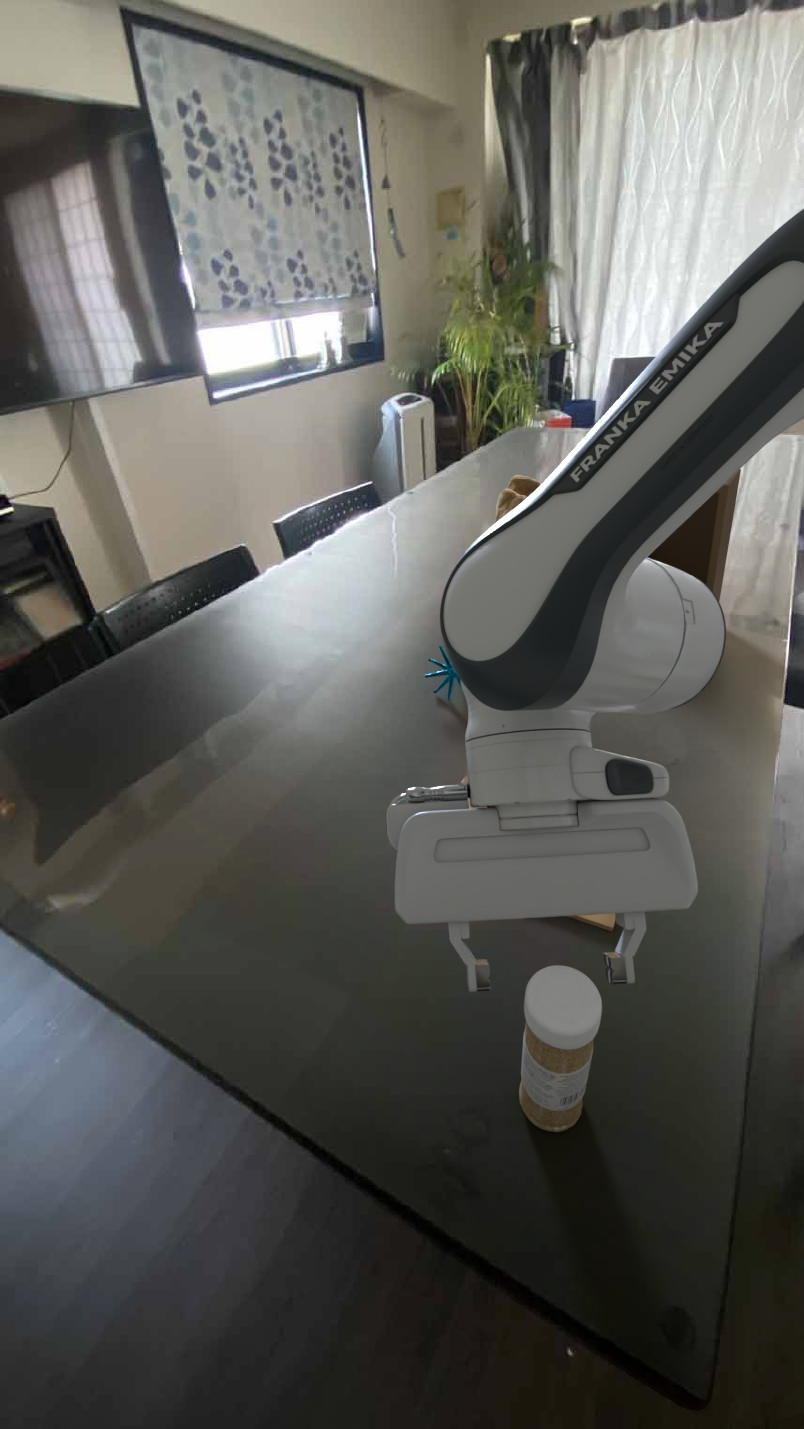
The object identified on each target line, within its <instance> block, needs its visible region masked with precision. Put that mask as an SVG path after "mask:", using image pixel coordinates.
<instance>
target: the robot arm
mask: <svg viewBox="0 0 804 1429" xmlns="http://www.w3.org/2000/svg"><path fill="white" fill-rule="evenodd" d="M802 420H804V208H802V209H801V210H800V211H798V212H797V213H796V214H794V215H793V216H792V217H790V218H789V219H788V220H787V221H786V222H784V223H783V224H782V225H781V226H779V227H778V228H777V229H776V230H775V231H774V232H773V233H771V234H770V236H768V237H767V238H766V239H765V240H764V241H762V243H761V244H760V245H759V246H758V247H757V248H756V249H755V250H754V251H752V252H751V254H749V255H748V256H747V258H745V260H744V261H742V262H741V263H740V264H739V266H738V267H736V269H735V270H734V271H732V273H731V274H730V275H729V276H728V277H727V278H726V279H725V280H724V281H723V282H722V283H721V284H720V285H719V286H718V288H717V289H716V290H715V291H714V292H713V293H712V294H711V295H710V297H708V299H706V301H705V302H704V303H703V304H701V306H700V307H699V308H698V309H697V310H696V311H695V312H694V314H693V315H691V317H689V319H688V321H686V322H685V324H684V325H683V326H682V327H681V328H680V329H679V330H678V331H677V332H676V334H674V336H672V338H671V339H670V340H669V342H668V343H667V344H666V345H665V346H664V347H663V348H662V349H661V350H660V352H659V353H658V354H657V355H656V356H655V357H654V358H653V359H652V361H651V362H649V364H648V365H647V366H646V367H645V368H644V370H643V371H642V372H641V373H640V374H639V375H638V376H637V377H636V378H635V380H634V381H633V382H632V383H631V384H630V385H629V386H628V387H627V389H626V390H625V391H624V392H623V393H622V394H621V395H620V397H619V398H618V399H617V400H616V401H615V402H614V403H613V405H611V407H609V409H608V410H607V411H606V412H605V413H604V414H603V416H602V417H601V418H600V419H599V420H598V421H597V422H596V423H595V424H594V425H593V426H592V428H591V429H590V430H589V431H588V432H587V434H586V435H585V436H584V437H583V438H582V439H581V440H580V441H579V443H577V445H575V447H574V448H573V449H572V450H571V451H570V453H569V454H568V455H567V456H566V457H565V458H564V459H563V460H562V462H561V463H560V464H559V465H558V466H557V467H556V468H555V469H554V470H553V471H552V472H551V473H550V474H549V476H548V477H547V478H546V479H545V480H544V481H543V482H542V483H540V486H539V487H538V488H537V489H536V490H535V491H534V492H533V493H532V494H531V495H530V496H529V497H527V498H526V499H525V500H524V501H523V502H522V503H520V504H519V505H518V506H517V507H515V508H514V509H513V510H511V511H510V512H509V513H508V514H506V515H505V516H504V517H502V518H501V519H500V520H499V521H497V522H496V523H495V524H494V523H493V524H492V525H491V526H489V527H488V529H487V530H485V531H484V532H483V533H482V534H481V535H480V536H478V537H477V539H476V540H474V541H473V542H472V544H470V546H469V547H468V548H467V549H466V550H465V552H463V554H462V556H460V558H459V560H458V561H457V563H456V564H455V566H454V568H453V570H452V571H451V573H450V575H449V577H448V579H447V581H446V584H445V587H444V590H443V593H442V597H441V602H440V609H439V626H440V634H441V638H442V642H443V645H444V651H445V653H446V655H447V657H448V658H449V660H450V662H451V664H452V666H453V668H454V670H455V672H456V673H457V675H458V677H459V678H460V681H461V687H462V689H461V691H462V690H463V691H462V693H463V695H464V698H465V701H466V706H467V713H468V714H467V715H468V717H467V725H466V730H465V735H464V742H465V745H464V746H465V757H466V769H467V773H468V784H461V783H457V784H446V785H438V786H431V787H424V786H413V787H409V788H406V789H405V793H401V794H399V795H397V796H395V797H394V798H393V799H392V800H391V801H390V803H389V804H388V806H387V808H386V812H385V825H386V838H387V842H388V843H389V845H390V846H391V848H392V850H394V851H395V852H396V857H395V858H396V859H395V860H396V861H395V872H394V911H395V913H396V915H397V916H398V917H399V919H400V920H402V922H404V923H405V924H406V925H409V926H410V925H429V924H431V925H432V924H446V923H447V932H448V933H447V934H448V939H449V941H450V943H451V945H452V947H453V948H454V950H455V951H456V952H457V954H458V955H459V957H460V959H461V960H462V962H463V963H464V965H465V967H466V978H467V979H466V980H467V987H468V992H469V993H479V992H491V991H492V982H491V979H490V976H491V970H490V969H491V968H490V963H489V960H488V959H487V958H475V956H474V955H473V953H472V951H471V950H470V948H469V947H468V945H467V943H466V942H465V940H467V939H469V938H470V937H471V935H470V922H482V921H483V922H484V921H501V920H502V921H503V920H519V919H520V920H522V919H538V918H556V917H558V918H559V917H567V916H576V915H594V914H612V913H615V915H616V922H615V924H617V925H618V926H619V927H621V928H623V930H622V933H621V934H620V937H619V939H618V942H617V945H616V947H615V949H614V951H608V952H603V953H602V954H603V962H604V964H605V966H606V967H605V969H604V970H605V972H604V973H605V977H606V980H607V982H608V983H610V984H611V985H633V984H635V983H636V975H635V967H634V966H635V965H634V958H633V957H635V956H636V954H637V952H638V949H639V947H640V945H641V943H642V940H643V938H644V937H645V934H646V932H647V930H648V929H647V920H646V912H647V913H648V912H663V911H665V912H666V911H680V910H681V911H682V910H688V909H689V908H690V907H691V906H692V905H693V903H694V902H695V899H696V898H697V896H698V894H699V882H698V874H697V868H696V863H695V859H694V854H693V850H692V846H691V841H690V838H689V835H688V832H687V827H686V825H685V823H684V820H683V817H682V815H681V814H680V813H679V811H678V810H677V809H676V807H675V806H674V805H673V804H671V803H670V802H668V801H666V800H664V799H660V797H664V796H666V795H667V794H668V792H669V791H670V776H669V775H670V774H669V771H668V770H667V768H666V767H665V766H663V765H661V764H659V763H657V762H652V761H648V760H643V759H640V758H639V759H638V758H636V757H631V756H626V755H622V754H618V753H615V752H610V751H606V750H602V749H598V748H594V747H593V742H592V734H591V725H590V724H591V719H592V718H593V717H594V715H596V714H598V713H601V714H609V713H613V714H614V713H615V714H623V715H624V714H626V715H651V714H657V713H662V712H664V711H668V710H673V709H676V708H679V707H681V706H683V705H686V704H687V703H689V702H691V701H692V700H694V699H696V697H698V696H699V695H700V694H702V692H703V691H704V690H705V689H706V688H707V686H709V684H710V683H711V681H712V680H713V678H714V677H715V675H716V673H717V671H718V670H719V667H720V664H721V662H722V659H723V656H724V653H725V648H726V640H727V626H726V618H725V614H724V610H723V608H722V605H721V602H720V601H718V599H717V597H716V596H715V594H714V593H713V591H712V590H711V589H710V588H709V587H708V586H707V585H706V584H705V583H703V582H702V581H701V580H699V579H697V578H695V577H693V576H691V575H689V574H687V573H685V572H684V571H681V570H679V569H677V568H674V567H672V566H669V565H667V564H664V563H661V562H658V561H656V560H653V559H650V558H647V557H648V556H649V555H650V554H651V553H652V552H653V551H654V550H655V549H656V548H657V547H658V546H659V545H660V544H662V543H663V542H664V541H665V540H666V539H667V538H668V537H669V536H670V535H671V534H672V533H673V532H674V531H675V530H676V529H677V528H678V527H679V526H680V525H682V524H683V523H684V522H685V521H686V520H687V519H688V518H689V517H690V516H691V515H692V514H693V513H694V512H695V511H696V510H697V509H698V508H699V507H700V506H702V505H703V504H704V503H705V502H706V501H707V500H708V499H709V498H710V497H711V496H712V495H713V494H714V493H715V492H716V491H717V490H718V489H719V488H720V487H721V486H723V485H724V484H725V483H726V482H727V481H728V480H729V479H730V478H731V477H732V476H733V475H734V474H735V473H736V472H737V471H738V470H739V469H742V468H743V467H744V466H745V465H746V464H747V463H748V462H749V461H750V460H751V459H753V457H754V456H756V454H757V453H759V452H760V451H761V450H762V449H763V448H764V447H765V446H766V445H768V444H769V443H770V442H771V441H772V440H773V439H775V438H776V437H778V436H779V435H780V434H782V433H784V432H785V431H786V430H788V429H789V428H791V427H792V426H794V425H795V424H797V423H799V422H801V421H802ZM468 797H469V799H470V806H471V807H473V808H471V809H469V800H468ZM404 800H405V802H406V803H400V802H402V801H404ZM483 807H487V808H483ZM557 815H558V816H557ZM504 818H508V819H504Z"/></svg>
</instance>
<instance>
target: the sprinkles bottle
mask: <svg viewBox="0 0 804 1429" xmlns="http://www.w3.org/2000/svg"><path fill="white" fill-rule="evenodd" d="M602 1001H603V1000H602V997H601V994H600V992H599V990H598V988H597V986H596V984H595V983H594V982H593V981H592V980H591V979H590V978H589V977H588V976H587V975H586V974H585V973H583V972H582V971H580V970H578V969H577V968H574V967H571V966H568V965H561V964H555V965H549V966H546V967H543V968H541V969H539V970H538V971H536V972H535V973H534V974H532V976H531V977H530V978H529V981H528V982H527V984H526V986H525V993H524V1000H523V1014H524V1019H525V1027H524V1031H523V1037H522V1038H523V1040H522V1051H521V1052H522V1053H521V1054H522V1055H521V1067H520V1068H521V1069H520V1076H521V1080H520V1083H519V1089H518V1098H519V1105H520V1106H521V1109H522V1111H523V1113H524V1115H525V1116H526V1117H527V1119H528V1120H529V1121H530V1123H532V1124H533V1125H534V1126H535V1127H537V1128H539V1129H541V1130H543V1131H547V1132H552V1133H560V1132H563V1131H567V1130H568V1129H569V1128H572V1127H573V1126H575V1125H576V1123H577V1122H578V1121H579V1119H580V1117H581V1115H582V1110H583V1106H584V1101H583V1097H584V1095H585V1093H586V1088H587V1083H588V1078H589V1075H590V1070H591V1063H592V1058H593V1052H594V1040H595V1038H596V1036H597V1034H598V1032H599V1029H600V1025H601V1020H602V1019H601V1018H602V1013H603V1002H602Z"/></svg>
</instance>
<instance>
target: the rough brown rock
mask: <svg viewBox="0 0 804 1429" xmlns="http://www.w3.org/2000/svg"><path fill="white" fill-rule="evenodd" d="M540 485H541V483H540V481H537V480H536V479H534V478H532V477H530V476H526V475H521V474H515V475H513V476H512V477H511V478H510V481H509V483H508V485H507V487H506V488H504V489H502V491H501V492H500V493H499V495H498V497H497V500H496V506H495V515H494V521H493V525H494V524H495V523H496V522H497V521H499V520H500V519H501V518H502V517H504V516H505V515H506V514H508V513H509V512H510V511H511V510H513V509H514V508H515V507H517V506H518V505H519V504H520V503H522V502H523V501H524V500H525V499H526V498H527V497H529V496H530V495H531V494H532V493H533V492H534V491H535V490H536V489H537V488H538V487H539V486H540Z"/></svg>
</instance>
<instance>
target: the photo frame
mask: <svg viewBox="0 0 804 1429" xmlns="http://www.w3.org/2000/svg"><path fill="white" fill-rule="evenodd" d="M741 471H742V468H740V469H739V470H738V471H737V472H736V473H735V474H734V475H733V476H732V477H731V478H730V479H729V480H728V481H727V482H726V483H725V484H724V485H723V486H721V487H720V488H719V489H718V490H717V491H716V492H715V493H714V494H713V495H712V496H711V497H710V498H709V499H708V500H707V501H706V502H705V503H704V504H703V505H702V506H700V507H699V508H698V509H697V510H696V511H695V512H694V513H693V514H692V515H691V516H690V517H689V518H688V519H687V520H686V521H685V522H684V523H683V524H682V525H680V526H679V527H678V528H677V529H676V530H675V531H674V532H673V533H672V534H671V535H670V536H669V537H668V538H667V539H666V540H665V541H664V542H663V543H662V544H660V545H659V546H658V547H657V548H656V549H655V550H654V551H653V552H652V553H651V554H650V555H649V556H648V557H647V558H650V559H653V560H656V561H658V562H661V563H664V564H667V565H669V566H672V567H674V568H677V569H679V570H681V571H684V572H685V573H687V574H689V575H691V576H693V577H695V578H697V579H699V580H701V581H702V582H703V583H705V584H706V585H707V586H708V587H709V588H710V589H711V590H712V591H713V593H714V594H715V596H716V597H717V599H718V601H719V602H720V600H721V594H722V588H723V582H724V578H725V577H724V575H725V569H726V563H727V557H728V551H729V546H730V539H731V533H732V527H733V520H734V514H735V510H736V502H737V497H738V491H739V484H740V483H739V482H740V478H741V473H742V472H741Z"/></svg>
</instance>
